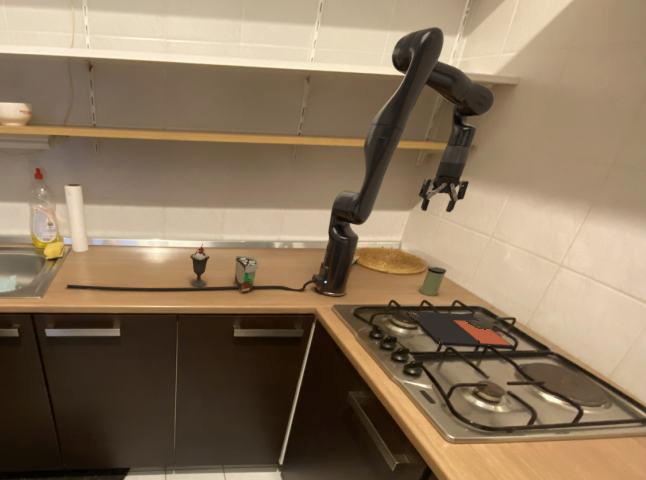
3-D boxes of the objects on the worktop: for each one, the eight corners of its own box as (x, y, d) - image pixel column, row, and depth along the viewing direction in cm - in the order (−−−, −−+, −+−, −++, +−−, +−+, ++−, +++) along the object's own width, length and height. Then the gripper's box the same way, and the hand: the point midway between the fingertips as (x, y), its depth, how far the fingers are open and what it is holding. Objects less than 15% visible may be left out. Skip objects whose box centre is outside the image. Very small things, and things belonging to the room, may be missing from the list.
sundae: (199, 289, 133) (202, 246, 126) (185, 283, 137) (187, 242, 129) (211, 284, 137) (214, 242, 130) (197, 279, 141) (199, 238, 134)
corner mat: (437, 344, 105) (439, 341, 104) (406, 313, 122) (407, 310, 122) (512, 348, 104) (514, 345, 104) (470, 316, 122) (471, 314, 121)
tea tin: (424, 295, 136) (433, 271, 131) (417, 289, 140) (425, 266, 136) (439, 296, 136) (449, 272, 131) (432, 290, 140) (441, 266, 136)
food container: (260, 294, 131) (264, 266, 126) (242, 295, 130) (246, 266, 125) (249, 281, 142) (252, 254, 136) (233, 281, 141) (236, 255, 136)
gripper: (468, 161, 132) (450, 210, 140) (426, 159, 132) (411, 208, 140) (481, 163, 125) (462, 214, 133) (437, 160, 126) (420, 212, 134)
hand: (435, 211), depth 137 cm, fingers open, 8 cm apart
